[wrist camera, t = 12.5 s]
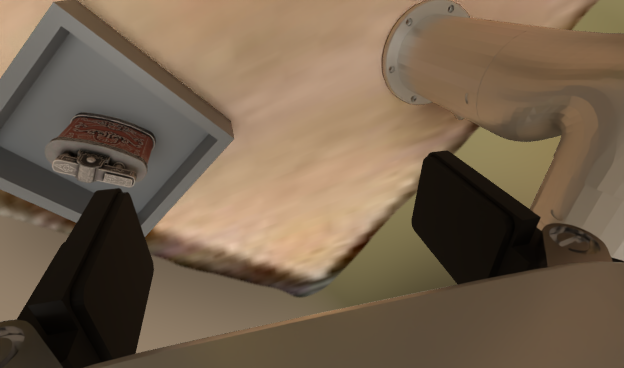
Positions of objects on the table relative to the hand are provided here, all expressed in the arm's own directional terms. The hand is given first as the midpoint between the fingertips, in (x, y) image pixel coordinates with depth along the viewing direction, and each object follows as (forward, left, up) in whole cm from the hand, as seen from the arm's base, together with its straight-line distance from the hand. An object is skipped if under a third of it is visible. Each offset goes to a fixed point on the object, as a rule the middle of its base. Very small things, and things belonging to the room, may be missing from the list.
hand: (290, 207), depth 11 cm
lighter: (+3, +15, -30) cm, 34 cm away
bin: (+4, +15, -31) cm, 35 cm away
